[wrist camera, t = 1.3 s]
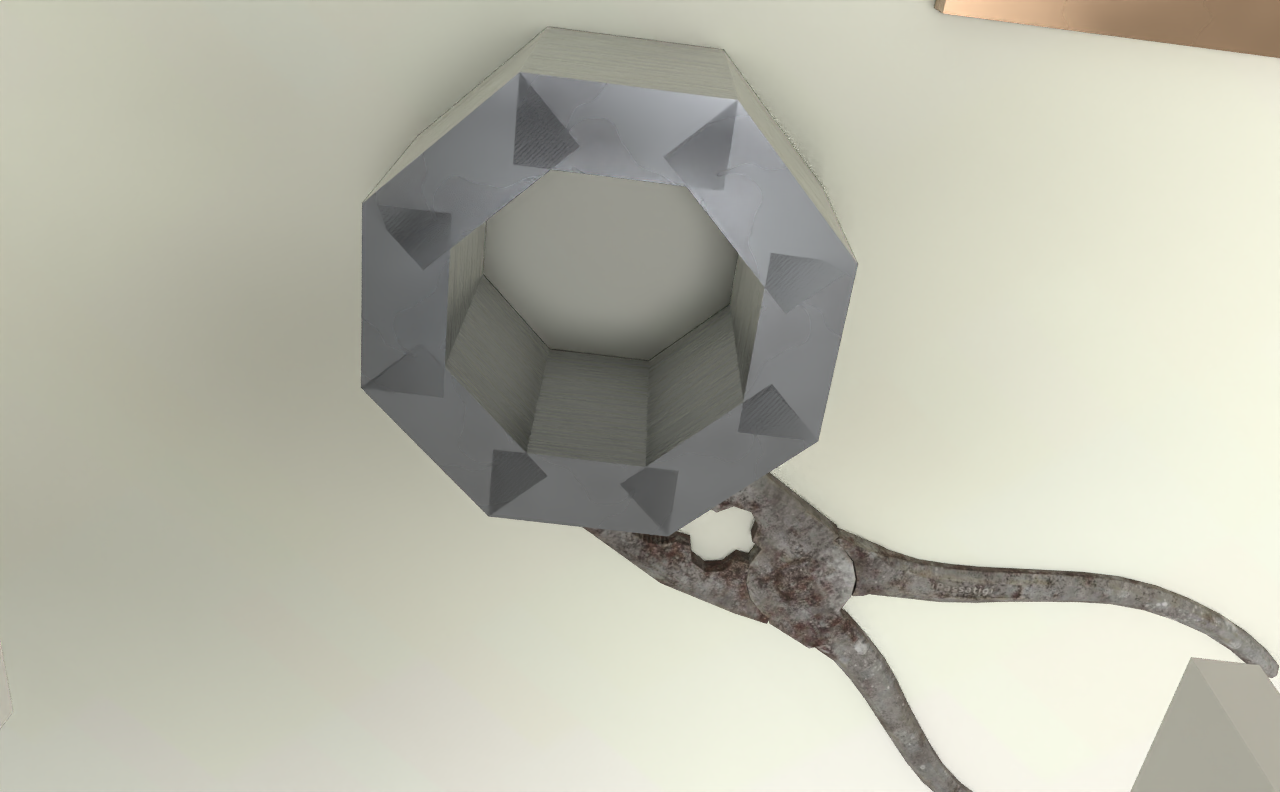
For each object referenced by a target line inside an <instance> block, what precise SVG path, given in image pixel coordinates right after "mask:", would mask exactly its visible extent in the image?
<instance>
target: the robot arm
mask: <svg viewBox="0 0 1280 792" xmlns="http://www.w3.org/2000/svg"><path fill="white" fill-rule="evenodd" d="M12 713H13V707H12V701H11V696H10V690H9V685H8V679H7V674H6V669H5V663H4V658H3V652H2V647H1V641H0V729H1V727H2V726H3V725H4V723H5V722H6V721H7V719H8V718H9V717H10V716H11V714H12ZM1131 792H1280V694H1279V692H1278V691H1277V689H1276V688H1275V686H1274V685H1273V684H1272V682H1271V681H1270V679H1269V678H1268V677H1267V675H1266V674H1265V672H1264V671H1263V669H1262V668H1261V667H1260V665H1253V664H1245V663H1236V662H1228V661H1219V660H1210V659H1202V658H1193V657H1191V659H1190V661H1189V663H1188V665H1187V667H1186V670H1185V672H1184V674H1183V676H1182V679H1181V681H1180V683H1179V685H1178V687H1177V690H1176V692H1175V694H1174V696H1173V699H1172V701H1171V703H1170V705H1169V707H1168V710H1167V712H1166V714H1165V716H1164V718H1163V721H1162V723H1161V725H1160V727H1159V730H1158V732H1157V734H1156V736H1155V738H1154V741H1153V743H1152V745H1151V747H1150V750H1149V752H1148V754H1147V756H1146V758H1145V761H1144V763H1143V765H1142V767H1141V770H1140V772H1139V774H1138V776H1137V778H1136V781H1135V783H1134V785H1133V787H1132V789H1131Z"/></svg>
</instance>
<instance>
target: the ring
mask: <svg viewBox="0 0 1280 792" xmlns="http://www.w3.org/2000/svg"><path fill="white" fill-rule="evenodd" d="M550 170H559V171H567V172H575V173H583V174H591V175H599V176H607V177H615V178H623V179H631V180H639V181H647V182H655V183H663V184H671V185H679V186H686V187H687V188H688V189H689V191H690V192H691V193H692V194H693V196H694V197H695V198H696V200H697V201H698V202H699V204H700V205H701V206H702V207H703V209H704V210H705V211H706V213H707V214H708V215H709V216H710V218H711V219H712V220H713V222H714V223H715V224H716V225H717V227H718V228H719V229H720V231H721V232H722V233H723V234H724V236H725V237H726V238H727V240H728V241H729V242H730V243H731V245H732V246H733V247H734V249H735V250H736V251H737V252H738V258H737V264H736V270H735V276H734V281H733V287H732V293H731V299H730V305H728V306H727V307H725V308H724V309H722V310H721V311H719V312H718V313H717V314H715V315H714V316H712V317H711V318H709V319H708V320H707V321H705V322H704V323H702V324H701V325H699V326H698V327H697V328H695V329H694V330H692V331H691V332H689V333H688V334H687V335H685V336H684V337H682V338H681V339H679V340H678V341H677V342H675V343H674V344H672V345H671V346H669V347H668V348H667V349H665V350H664V351H662V352H661V353H659V354H658V355H656V356H655V357H654V358H652V359H651V360H649V361H645V360H637V359H628V358H620V357H611V356H603V355H595V354H586V353H578V352H569V351H561V350H552V349H549V348H548V347H547V346H546V345H545V343H544V342H543V341H542V340H541V339H540V338H539V337H538V336H537V334H536V333H535V332H534V331H533V330H532V329H531V328H530V327H529V326H528V324H527V323H526V322H525V321H524V320H523V319H522V318H521V317H520V315H519V314H518V313H517V312H516V311H515V310H514V309H513V308H512V306H511V305H510V304H509V303H508V302H507V301H506V300H505V299H504V298H503V296H502V295H501V294H500V293H499V292H498V291H497V290H496V289H495V287H494V286H493V285H492V284H491V283H490V282H489V281H488V280H487V278H486V277H485V276H484V275H483V267H484V251H485V234H486V220H488V219H489V218H490V217H491V216H493V215H494V214H495V213H496V212H498V211H499V210H500V209H501V208H503V207H504V206H505V205H507V204H508V203H509V202H510V201H512V200H513V199H514V198H515V197H517V196H518V195H519V194H520V193H522V192H523V191H524V190H526V189H527V188H528V187H529V186H531V185H532V184H533V183H534V182H536V181H537V180H538V179H539V178H541V177H542V176H543V175H545V174H546V173H547V172H548V171H550ZM857 266H858V263H857V261H856V258H855V256H854V254H853V252H852V250H851V248H850V245H849V243H848V241H847V239H846V237H845V234H844V232H843V230H842V228H841V226H840V223H839V221H838V219H837V217H836V215H835V212H834V210H833V208H832V206H831V204H830V202H829V199H828V197H827V195H826V193H825V191H824V188H823V186H822V185H821V184H820V182H819V181H818V180H817V178H816V177H815V175H814V174H813V173H812V171H811V170H810V168H809V167H808V166H807V164H806V163H805V162H804V160H803V159H802V157H801V156H800V155H799V153H798V152H797V150H796V149H795V148H794V146H793V145H792V144H791V142H790V141H789V139H788V138H787V137H786V135H785V134H784V132H783V131H782V130H781V128H780V127H779V126H778V124H777V123H776V121H775V120H774V119H773V117H772V116H771V114H770V113H769V112H768V110H767V109H766V108H765V106H764V105H763V103H762V102H761V101H760V99H759V98H758V96H757V95H756V94H755V92H754V91H753V90H752V88H751V87H750V85H749V84H748V83H747V81H746V80H745V78H744V77H743V76H742V74H741V73H740V72H739V70H738V69H737V67H736V66H735V65H734V63H733V62H732V60H731V59H730V58H729V56H728V55H727V53H726V52H725V51H724V49H716V48H708V47H700V46H692V45H685V44H677V43H669V42H662V41H654V40H646V39H639V38H631V37H623V36H616V35H608V34H600V33H592V32H585V31H577V30H569V29H562V28H554V27H547V28H546V29H544V30H543V31H542V32H541V33H540V34H538V35H537V36H536V37H535V38H534V39H532V40H531V41H530V42H529V43H528V44H527V45H525V46H524V47H523V48H522V49H521V50H519V51H518V52H517V53H516V54H515V55H513V56H512V57H511V58H510V59H509V60H507V61H506V62H505V63H504V64H503V65H502V66H500V67H499V68H498V69H497V70H496V71H494V72H493V73H492V74H491V75H490V76H488V77H487V78H486V79H485V80H484V81H482V82H481V83H480V84H479V85H478V86H477V87H475V88H474V89H473V90H472V91H471V92H469V93H468V94H467V95H466V96H465V97H463V98H462V99H461V100H460V101H459V102H458V103H456V104H455V105H454V106H453V107H452V108H450V109H449V110H448V111H447V112H446V113H444V114H443V115H442V116H441V117H440V118H438V119H437V120H436V121H435V122H434V123H433V124H431V125H430V126H429V127H428V128H427V129H425V130H424V131H423V132H422V133H421V134H419V135H418V136H417V137H416V139H415V140H414V141H413V142H412V143H411V145H410V146H409V147H408V148H407V149H406V151H405V152H404V153H403V154H402V155H401V157H400V158H399V159H398V160H397V162H396V163H395V164H394V165H393V166H392V168H391V169H390V170H389V171H388V172H387V174H386V175H385V176H384V177H383V178H382V180H381V181H380V182H379V183H378V184H377V186H376V187H375V188H374V189H373V191H372V192H371V193H370V194H369V195H368V197H367V198H366V199H365V200H364V201H363V203H362V333H361V388H362V389H363V390H364V391H365V392H366V393H367V394H368V395H369V396H370V397H371V398H372V399H373V400H374V401H375V402H376V403H377V404H378V405H379V406H380V407H381V408H382V409H383V410H384V411H385V412H386V413H387V414H388V415H389V416H390V417H391V418H392V419H393V420H394V422H395V423H396V424H397V425H398V426H399V427H400V428H401V429H402V430H403V431H404V432H405V433H406V434H407V435H408V436H409V437H410V438H411V439H412V440H413V441H414V442H415V443H416V444H417V445H418V446H419V447H420V448H421V449H422V450H423V451H424V452H425V453H426V454H427V455H428V456H429V457H430V458H431V459H432V460H433V461H434V462H435V463H436V464H437V465H438V466H439V467H440V468H441V469H442V470H443V471H444V472H445V473H446V474H447V475H448V476H449V477H450V478H451V479H452V480H453V481H454V482H455V483H456V484H457V485H458V486H459V487H460V488H461V489H462V490H463V491H464V492H465V493H466V494H467V495H468V496H469V497H470V498H471V499H472V500H473V501H474V502H475V503H476V504H477V505H478V506H479V507H480V508H481V509H482V510H483V511H484V512H485V513H486V514H487V515H488V516H490V517H499V518H508V519H517V520H526V521H535V522H544V523H553V524H561V525H570V526H579V527H588V528H597V529H606V530H615V531H624V532H632V533H641V534H650V535H659V536H669V535H671V534H673V533H674V532H676V531H677V530H679V529H680V528H682V527H684V526H685V525H687V524H688V523H690V522H691V521H693V520H695V519H696V518H698V517H699V516H701V515H703V514H704V513H706V512H707V511H709V510H710V509H712V508H714V507H715V506H717V505H718V504H720V503H721V502H723V501H725V500H726V499H728V498H729V497H731V496H732V495H734V494H736V493H737V492H739V491H740V490H742V489H743V488H745V487H747V486H748V485H750V484H751V483H753V482H754V481H756V480H758V479H759V478H761V477H762V476H764V475H766V474H767V473H769V472H770V471H772V470H773V469H775V468H777V467H778V466H780V465H781V464H783V463H784V462H786V461H788V460H789V459H791V458H792V457H794V456H795V455H797V454H799V453H800V452H802V451H803V450H805V449H806V448H808V447H810V446H811V445H813V444H814V443H816V442H818V439H819V434H820V430H821V426H822V421H823V417H824V412H825V408H826V403H827V399H828V394H829V390H830V386H831V381H832V377H833V372H834V368H835V363H836V359H837V355H838V350H839V346H840V341H841V337H842V332H843V328H844V323H845V319H846V315H847V310H848V306H849V301H850V297H851V292H852V288H853V283H854V279H855V275H856V270H857Z"/></svg>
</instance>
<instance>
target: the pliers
mask: <svg viewBox="0 0 1280 792" xmlns="http://www.w3.org/2000/svg"><path fill="white" fill-rule="evenodd" d="M733 506H735V507H738V508H741V509H744V510H747V511H750V512H752V514H753V516H754V518H755V522H754V524H753V527H752V529H751V535H752V542H754V543H755V546H754V547H753V548H752V549H751V551H750V552H751V553H750V552H749V553H745V552H742V551H739V550H735V551H734V552H732V553H731V554H730V555H728V556H727V557H726V558H724V559H723V560H715V561H704V560H703V559H701V558H700V557H699V556H697V555H696V554H695V553H693V552H692V551H691V544H690V535H687V534H684V533H680V532H677V531H676V532H674V533H673V534H671V535H669V536H659V535H650V534H641V533H632V532H624V531H615V530H606V529H597V528H588V527H583V528H585V529H586V530H587V531H589V532H590V533H592V534H593V535H594V536H596V537H597V538H599V539H600V540H601V541H603V542H604V543H606V544H607V545H608V546H610V547H611V548H613V549H614V550H615V551H617V552H618V553H620V554H621V555H622V556H624V557H625V558H626V559H628V560H629V561H631V562H632V563H633V564H635V565H636V566H638V567H639V568H640V569H642V570H643V571H645V572H646V573H647V574H649V575H650V576H652V577H653V578H654V579H656V580H657V581H659V582H660V583H662V584H664V585H667V586H669V587H672V588H674V589H676V590H679V591H681V592H684V593H686V594H689V595H691V596H694V597H696V598H698V599H701V600H703V601H706V602H708V603H711V604H713V605H716V606H718V607H720V608H723V609H725V610H728V611H730V612H733V613H735V614H738V615H741V616H744V617H748V618H751V619H754V620H757V621H760V622H763V623H766V624H767V623H768V621H769V623H770V624H771V625H773V626H774V627H776V628H778V629H779V630H781V631H782V632H784V633H786V634H787V635H789V636H790V637H792V638H794V639H795V640H797V641H798V642H800V643H801V644H803V645H805V646H806V647H808V648H813V647H815V648H817V649H818V650H819V651H821V652H822V653H824V654H825V655H827V656H828V657H829V658H831V659H832V660H834V661H835V662H836V663H837V665H838V666H839V667H840V668H841V669H842V670H843V671H844V672H845V674H846V675H847V676H848V677H849V678H850V679H851V680H852V682H853V683H854V685H855V686H856V687H857V689H858V690H859V691H860V693H861V694H862V695H863V697H864V698H865V699H866V701H867V703H868V704H869V706H870V707H871V709H872V710H873V712H874V713H875V715H876V716H877V718H878V720H879V721H880V723H881V724H882V726H883V727H884V729H885V730H886V732H887V733H888V735H889V736H890V738H891V740H892V741H893V743H894V744H895V746H896V747H897V749H898V750H899V752H900V753H901V755H902V756H903V758H904V759H905V761H906V762H907V763H908V765H909V766H910V767H911V768H912V770H913V771H914V772H915V773H916V774H917V776H918V777H919V778H920V779H921V781H922V782H923V783H924V784H925V785H927V786H928V787H929V788H930V789H931V790H932V791H933V792H972V791H971V790H969V789H968V788H967V787H965V786H964V785H963V784H961V783H960V782H959V781H958V780H957V779H956V777H955V776H954V775H953V774H952V773H951V772H950V771H949V770H948V769H947V768H946V767H945V766H944V765H943V764H942V762H941V761H940V759H939V757H938V756H937V754H936V753H935V751H934V750H933V748H932V747H931V745H930V743H929V742H928V740H927V738H926V736H925V734H924V733H923V731H922V729H921V727H920V726H919V724H918V722H917V720H916V718H915V716H914V714H913V712H912V710H911V708H910V707H909V705H908V703H907V701H906V699H905V696H904V694H903V692H902V690H901V688H900V686H899V684H898V681H897V680H896V678H895V676H894V674H893V673H892V671H891V669H890V667H889V665H888V664H887V662H886V660H885V658H884V657H883V656H882V654H881V653H880V652H879V650H878V649H877V648H876V646H875V645H874V644H873V642H872V641H871V640H870V638H869V637H868V636H867V635H866V633H865V632H864V631H863V630H862V629H861V628H860V626H859V625H858V624H857V623H856V622H855V621H854V620H853V618H852V617H851V616H850V615H849V614H848V613H847V612H846V611H845V610H844V609H842V607H843V606H844V604H845V603H846V602H847V601H848V599H849V598H850V597H851V595H852V596H864V595H867V594H873V595H882V596H891V597H900V598H909V599H918V600H927V601H936V602H970V603H980V602H1087V603H1104V604H1114V605H1119V606H1125V607H1130V608H1135V609H1141V610H1145V611H1148V612H1151V613H1154V614H1157V615H1160V616H1164V617H1167V618H1170V619H1173V620H1175V621H1178V622H1180V623H1182V624H1184V625H1187V626H1189V627H1191V628H1193V629H1196V630H1198V631H1200V632H1202V633H1205V634H1206V635H1208V636H1209V637H1211V638H1213V639H1214V640H1216V641H1217V642H1219V643H1220V644H1222V645H1224V646H1225V647H1227V648H1228V649H1230V650H1231V651H1232V652H1233V653H1235V654H1236V655H1237V656H1238V657H1239V658H1240V659H1242V660H1243V661H1244V662H1245V663H1246V664H1253V665H1260V667H1261V668H1262V669H1263V671H1264V672H1265V674H1266V675H1267V677H1270V678H1273V677H1275V676H1276V675H1277V673H1278V669H1279V665H1278V664H1277V663H1276V661H1275V660H1274V659H1273V658H1272V657H1271V655H1270V654H1269V653H1268V652H1267V650H1266V649H1265V648H1264V647H1263V646H1261V645H1260V644H1259V643H1258V642H1257V641H1256V640H1255V639H1254V638H1252V637H1251V636H1250V635H1249V634H1248V633H1247V632H1246V631H1244V630H1243V629H1241V628H1240V627H1238V626H1237V625H1235V624H1234V623H1232V622H1231V621H1229V620H1228V619H1226V618H1225V617H1223V616H1222V615H1220V614H1219V613H1217V612H1215V611H1213V610H1211V609H1209V608H1207V607H1205V606H1203V605H1201V604H1199V603H1197V602H1195V601H1193V600H1191V599H1189V598H1187V597H1184V596H1181V595H1179V594H1176V593H1174V592H1171V591H1168V590H1166V589H1163V588H1161V587H1158V586H1156V585H1152V584H1148V583H1144V582H1139V581H1135V580H1131V579H1127V578H1123V577H1119V576H1111V575H1102V574H1094V573H1086V572H1071V571H1052V570H1032V569H1012V568H991V567H975V566H964V565H953V564H945V563H938V562H932V561H926V560H919V559H915V558H912V557H909V556H906V555H903V554H900V553H896V552H893V551H890V550H887V549H886V548H884V547H882V546H880V545H877V544H875V543H872V542H870V541H868V540H865V539H863V538H861V537H858V536H856V535H853V534H851V533H849V532H846V531H844V530H842V529H839V528H837V525H835V524H834V523H833V522H832V521H830V520H829V519H828V518H826V517H825V516H824V515H823V514H821V513H820V512H819V511H817V510H816V509H815V508H814V507H812V506H811V505H810V504H809V503H807V502H806V501H805V500H803V499H802V498H801V497H800V496H798V495H797V494H796V493H795V492H793V491H792V490H791V489H789V488H788V487H787V486H786V485H784V484H783V483H782V482H781V481H779V480H778V479H777V478H775V477H774V476H773V475H772V474H770V473H767V474H766V475H764V476H762V477H761V478H759V479H758V480H756V481H754V482H753V483H751V484H750V485H748V486H747V487H745V488H743V489H742V490H740V491H739V492H737V493H736V494H734V495H732V496H731V497H729V498H728V499H726V500H725V501H723V502H721V503H720V504H718V505H717V506H715V507H714V508H712V510H714V511H715V512H719V511H722V510H725V509H727V508H730V507H733ZM852 560H853V562H852ZM853 563H854V567H853ZM854 568H855V570H854Z"/></svg>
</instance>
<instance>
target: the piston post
mask: <svg viewBox="0 0 1280 792" xmlns="http://www.w3.org/2000/svg"><path fill="white" fill-rule="evenodd" d="M934 8H935V9H937V10H938V11H940V12H941V13H944V14H951V15H959V16H966V17H974V18H982V19H989V20H997V21H1004V22H1012V23H1019V24H1027V25H1035V26H1042V27H1050V28H1057V29H1065V30H1072V31H1080V32H1087V33H1095V34H1103V35H1110V36H1118V37H1125V38H1133V39H1140V40H1148V41H1155V42H1163V43H1171V44H1178V45H1186V46H1193V47H1201V48H1208V49H1216V50H1224V51H1231V52H1239V53H1246V54H1254V55H1261V56H1269V57H1276V58H1280V0H936V2H935V6H934Z"/></svg>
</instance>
